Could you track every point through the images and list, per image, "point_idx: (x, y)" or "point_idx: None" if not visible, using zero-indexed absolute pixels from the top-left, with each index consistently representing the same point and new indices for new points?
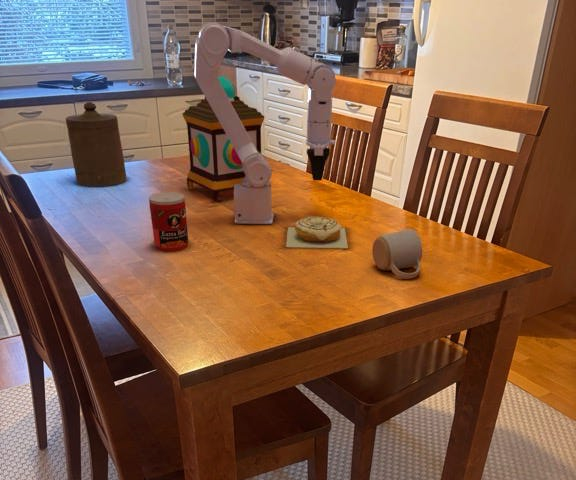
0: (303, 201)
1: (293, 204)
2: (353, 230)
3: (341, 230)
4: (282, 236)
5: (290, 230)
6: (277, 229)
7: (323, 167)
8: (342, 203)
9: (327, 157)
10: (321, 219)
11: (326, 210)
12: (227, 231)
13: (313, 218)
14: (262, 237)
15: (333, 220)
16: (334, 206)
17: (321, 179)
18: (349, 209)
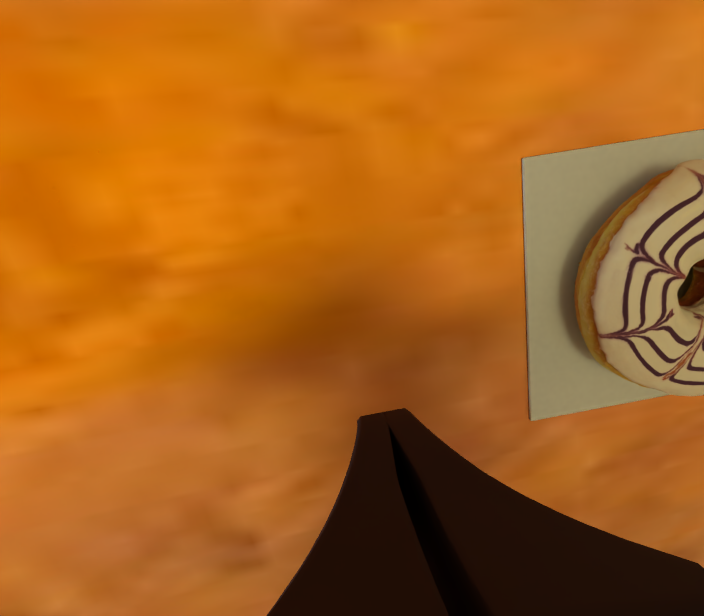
0: (92, 440)
1: (167, 473)
2: (541, 106)
3: (565, 171)
4: (633, 415)
5: (575, 402)
6: (550, 452)
7: (479, 475)
8: (39, 224)
9: (652, 553)
10: (679, 280)
11: (220, 298)
12: None
13: (672, 324)
14: (644, 478)
15: (691, 210)
16: (125, 264)
17: (408, 411)
18: (155, 165)
